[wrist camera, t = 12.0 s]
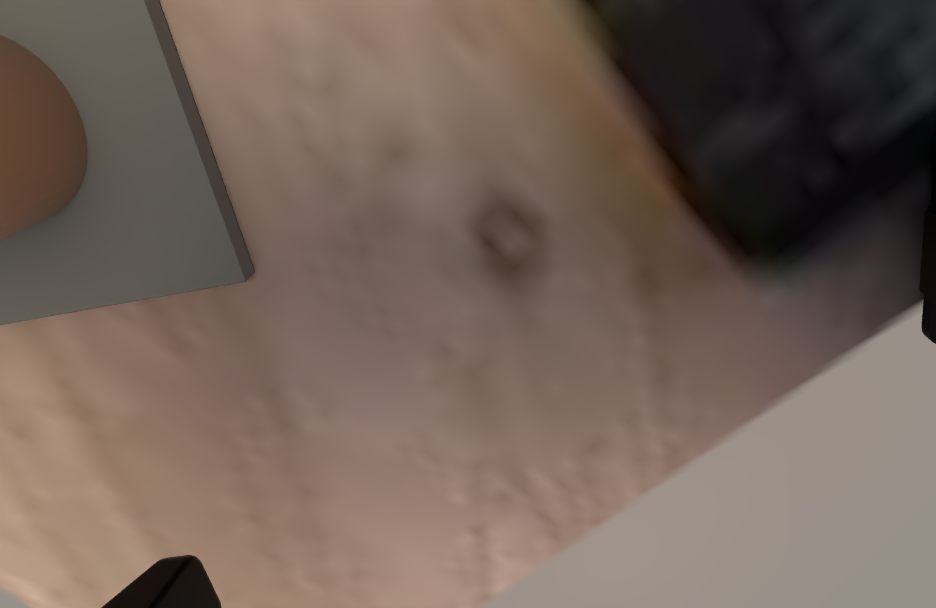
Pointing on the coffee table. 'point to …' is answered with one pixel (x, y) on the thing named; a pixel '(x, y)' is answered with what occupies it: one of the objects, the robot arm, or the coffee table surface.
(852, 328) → the coffee table surface
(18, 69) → the tan domed cylinder
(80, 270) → the slate mat
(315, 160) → the coffee table surface
